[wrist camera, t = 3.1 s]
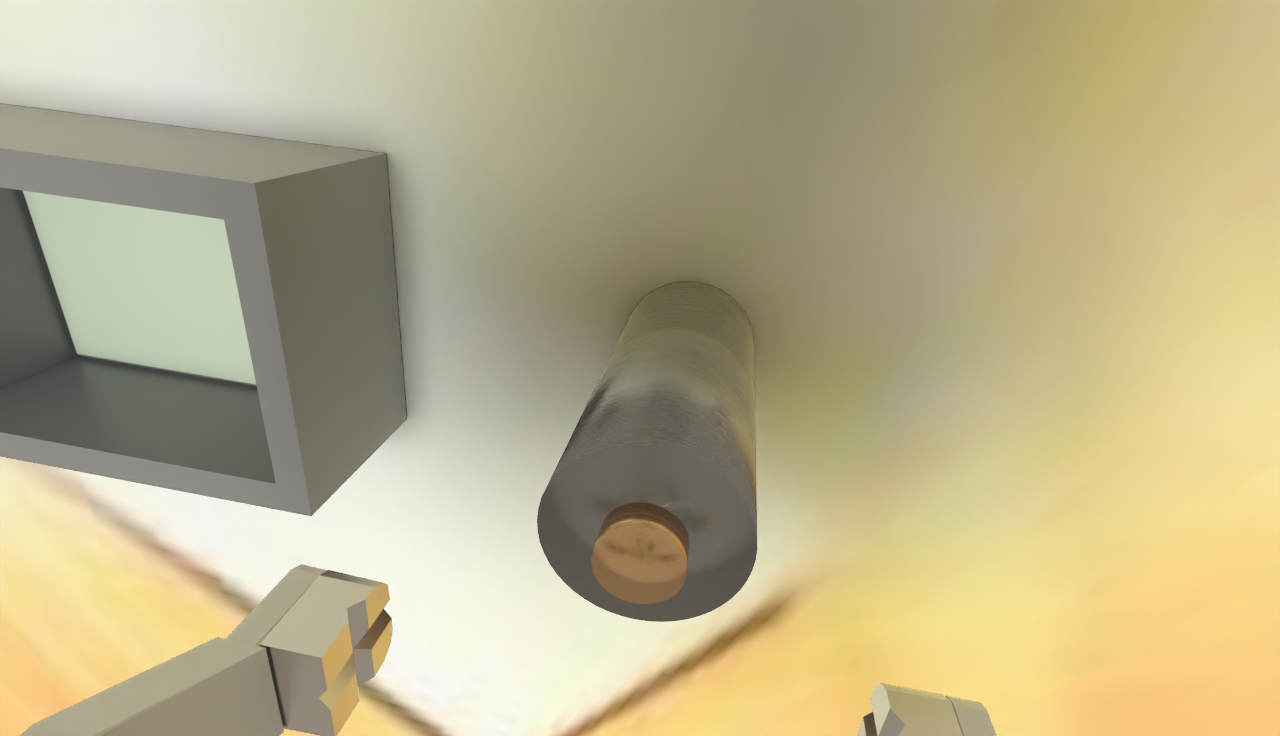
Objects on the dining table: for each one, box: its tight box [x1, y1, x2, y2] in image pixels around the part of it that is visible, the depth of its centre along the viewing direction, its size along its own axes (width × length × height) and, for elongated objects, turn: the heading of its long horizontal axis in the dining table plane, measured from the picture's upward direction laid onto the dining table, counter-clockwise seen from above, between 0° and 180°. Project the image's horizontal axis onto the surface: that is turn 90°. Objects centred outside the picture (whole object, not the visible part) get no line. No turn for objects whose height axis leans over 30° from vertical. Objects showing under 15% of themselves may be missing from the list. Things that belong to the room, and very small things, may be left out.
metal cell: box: [537, 282, 757, 622], centre depth 17 cm, size 4×4×11 cm
